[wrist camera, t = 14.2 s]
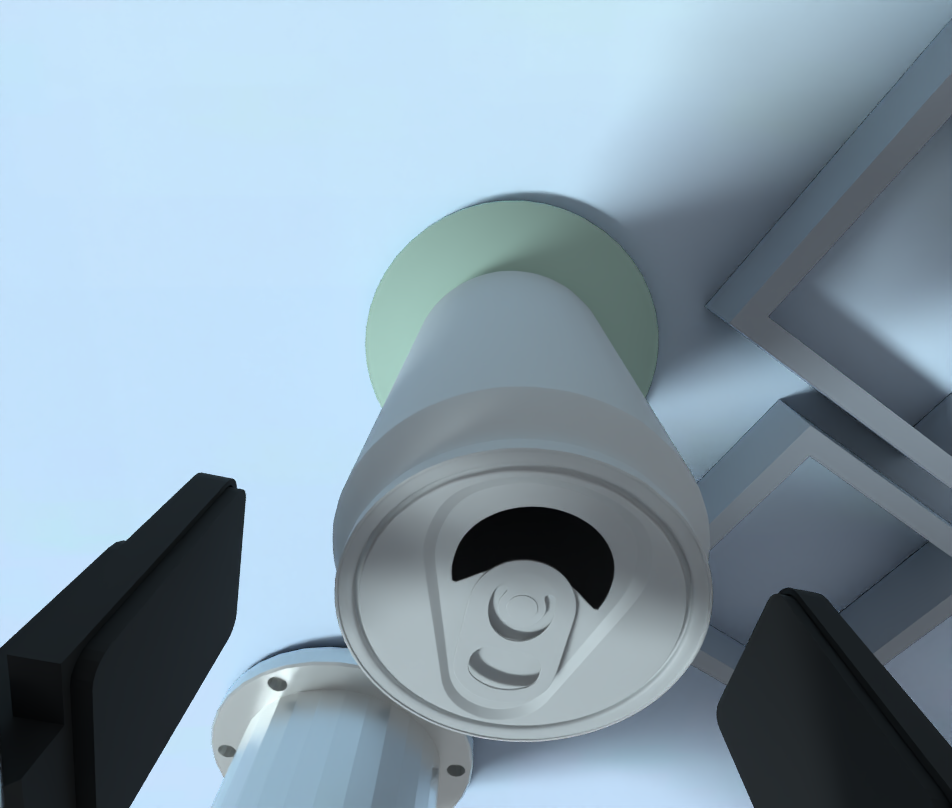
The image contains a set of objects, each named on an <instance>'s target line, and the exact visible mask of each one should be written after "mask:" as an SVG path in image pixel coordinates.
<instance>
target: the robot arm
mask: <svg viewBox="0 0 952 808" xmlns="http://www.w3.org/2000/svg"><path fill="white" fill-rule="evenodd" d="M245 501H246V493H245V491H244V490H242V489H237V485H236V481H235V480H234V479H231V478H226V477H221V476H216V475H211V474H206V473H198V474H196V475H195V476H194V477H193V478H192V479H191V480H190V481H188V482H187V483H186V484H185V485H184V486H183V487H182V488H181V489H180V490H179V491H178V492H177V493H176V494H175V495H174V496H173V497H172V498H171V499H170V500H168V501H167V502H166V503H165V504H164V505H163V506H162V507H161V508H160V509H159V510H158V511H157V512H156V513H155V514H154V515H153V516H152V517H151V518H150V519H149V520H147V521H146V522H145V523H144V524H143V525H142V526H141V527H140V528H139V529H138V530H137V531H136V532H135V533H134V534H133V535H132V536H131V537H130V538H129V539H127V540H126V541H124V540H123V541H119V542H116V543H115V544H113V545H112V546H110V547H109V548H108V549H107V550H106V551H105V552H103V553H102V554H101V555H100V556H99V557H98V558H97V559H96V560H95V561H94V562H93V563H92V564H91V565H89V566H88V567H87V568H86V569H85V570H84V571H83V572H82V573H81V574H80V575H79V576H78V577H76V578H75V579H74V580H73V581H72V582H71V583H70V584H69V585H68V586H67V587H66V588H65V589H63V590H62V591H61V592H60V593H59V594H58V595H57V596H56V597H55V598H54V599H53V600H52V601H51V602H49V603H48V604H47V605H46V606H45V607H44V608H43V609H42V610H41V611H40V612H39V613H38V614H36V615H35V616H34V617H33V618H32V619H31V620H30V621H29V622H28V623H27V624H26V625H25V626H24V627H22V628H21V629H20V630H19V631H18V632H17V633H16V634H15V635H14V636H13V637H12V638H11V639H9V640H8V641H7V642H6V643H5V644H4V645H3V646H2V647H1V648H0V808H129V807H130V806H131V804H132V802H133V801H134V799H135V797H136V795H137V794H138V792H139V790H140V789H141V787H142V785H143V783H144V782H145V780H146V778H147V777H148V775H149V773H150V772H151V770H152V768H153V766H154V765H155V763H156V761H157V760H158V758H159V756H160V755H161V753H162V751H163V749H164V748H165V746H166V744H167V743H168V741H169V739H170V737H171V736H172V734H173V732H174V731H175V729H176V727H177V726H178V724H179V722H180V720H181V719H182V717H183V715H184V714H185V712H186V710H187V709H188V707H189V705H190V703H191V702H192V700H193V698H194V697H195V695H196V693H197V692H198V690H199V688H200V686H201V685H202V683H203V681H204V680H205V678H206V676H207V674H208V673H209V671H210V669H211V668H212V666H213V664H214V663H215V661H216V659H217V657H218V656H219V654H220V652H221V651H222V649H223V647H224V646H225V644H226V642H227V640H228V639H229V637H230V635H231V632H232V630H233V627H234V624H235V620H236V614H237V601H238V589H239V576H240V564H241V551H242V539H243V526H244V514H245ZM717 722H718V725H719V728H720V731H721V733H722V735H723V737H724V740H725V742H726V744H727V747H728V749H729V751H730V754H731V756H732V758H733V760H734V763H735V765H736V767H737V770H738V772H739V774H740V777H741V779H742V781H743V783H744V786H745V788H746V790H747V793H748V795H749V797H750V800H751V802H752V804H753V806H754V808H952V747H951V746H950V745H949V743H948V742H947V741H946V740H945V739H944V738H943V736H942V735H941V734H940V733H939V732H938V730H937V729H936V728H935V727H934V726H933V724H932V723H931V722H930V721H929V720H928V719H927V717H926V716H925V715H924V714H923V713H922V711H921V710H920V709H919V708H918V707H917V705H916V704H915V703H914V702H913V701H912V700H911V698H910V697H909V696H908V695H907V694H906V692H905V691H904V690H903V689H902V688H901V686H900V685H899V684H898V683H897V682H896V681H895V679H894V678H893V677H892V676H891V675H890V673H889V672H888V671H887V670H886V669H885V667H884V666H883V665H882V664H881V663H880V662H879V660H878V659H877V658H876V657H875V656H874V654H873V653H872V652H871V651H870V650H869V648H868V647H867V646H866V645H865V644H864V643H863V641H862V640H861V639H860V638H859V637H858V635H857V634H856V633H855V632H854V631H853V629H852V628H851V627H850V626H849V625H848V624H847V622H846V621H845V620H844V619H843V618H842V616H841V615H840V614H839V613H838V612H837V610H836V609H835V608H834V607H833V606H832V605H831V603H830V602H829V601H828V600H827V599H826V598H825V597H824V596H823V595H821V594H818V593H814V592H809V591H804V590H798V589H793V588H784V589H783V590H781V591H780V592H779V593H778V594H774V595H772V596H771V597H770V598H769V600H768V602H767V604H766V606H765V608H764V610H763V612H762V614H761V616H760V618H759V620H758V622H757V624H756V627H755V629H754V631H753V633H752V635H751V637H750V639H749V641H748V643H747V645H746V647H745V649H744V651H743V653H742V655H741V657H740V659H739V661H738V664H737V666H736V668H735V670H734V672H733V674H732V676H731V678H730V680H729V682H728V684H727V686H726V688H725V690H724V692H723V694H722V696H721V698H720V700H719V703H718V706H717ZM211 746H212V750H213V754H214V758H215V761H216V763H217V765H218V767H219V769H220V771H221V773H222V775H223V777H224V779H223V782H222V784H221V786H220V788H219V791H218V793H217V795H216V797H215V799H214V802H213V804H212V806H211V808H454V807H455V806H456V804H457V803H458V802H459V801H460V800H461V799H462V797H463V796H464V794H465V792H466V790H467V787H468V785H469V783H470V780H471V774H472V769H473V738H472V736H469V735H465V734H461V733H458V732H454V731H451V730H448V729H446V728H443V727H440V726H438V725H435V724H433V723H431V722H428V721H426V720H424V719H422V718H420V717H418V716H417V715H415V714H413V713H411V712H410V711H408V710H406V709H405V708H403V707H402V706H400V705H399V704H397V703H396V702H394V701H393V700H392V699H390V698H389V697H388V696H387V695H386V694H384V693H383V692H382V691H381V690H380V689H379V688H378V687H377V686H376V685H375V684H374V683H373V682H372V681H371V680H370V679H369V678H368V677H367V676H366V675H365V673H364V672H363V671H362V670H361V668H360V667H359V665H358V664H357V663H356V661H355V660H354V658H353V656H352V655H351V653H350V651H349V649H348V648H339V647H320V648H304V649H300V650H295V651H291V652H286V653H282V654H279V655H276V656H274V657H271V658H269V659H267V660H264V661H262V662H259V663H258V664H257V665H255V666H254V667H252V668H251V669H249V670H248V671H246V672H245V673H243V674H242V675H241V676H240V677H239V678H238V679H237V680H236V682H235V683H234V684H233V685H232V686H231V687H230V688H229V690H228V692H227V694H226V696H225V698H224V699H223V701H222V703H221V705H220V707H219V708H218V710H217V713H216V716H215V719H214V722H213V724H212V732H211Z"/></svg>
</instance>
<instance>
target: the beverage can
mask: <svg viewBox="0 0 952 808" xmlns="http://www.w3.org/2000/svg"><path fill="white" fill-rule="evenodd" d="M709 550H710V532H709V521H708V515H707V511H706V507H705V504H704V501H703V498H702V495H701V492H700V489H699V487H698V485H697V483H696V481H695V479H694V477H693V476H692V474H691V472H690V470H689V469H688V467H687V465H686V464H685V462H684V460H683V459H682V457H681V456H680V454H679V452H678V451H677V449H676V447H675V446H674V444H673V443H672V441H671V439H670V438H669V436H668V434H667V433H666V431H665V430H664V428H663V426H662V425H661V423H660V422H659V420H658V418H657V417H656V415H655V413H654V412H653V410H652V409H651V407H650V405H649V404H648V402H647V400H646V399H645V397H644V396H643V394H642V392H641V391H640V389H639V387H638V386H637V384H636V383H635V381H634V379H633V378H632V376H631V374H630V373H629V371H628V370H627V368H626V366H625V365H624V363H623V362H622V360H621V358H620V357H619V355H618V353H617V352H616V350H615V349H614V347H613V345H612V344H611V342H610V340H609V339H608V337H607V336H606V334H605V332H604V331H603V329H602V327H601V326H600V324H599V323H598V321H597V319H596V318H595V316H594V314H593V313H592V311H591V310H590V309H589V308H588V306H587V305H586V304H585V303H584V302H583V301H582V300H581V299H580V298H579V297H578V296H576V295H575V294H574V293H573V292H572V291H571V290H570V289H568V288H567V287H565V286H564V285H562V284H560V283H558V282H556V281H554V280H552V279H550V278H547V277H545V276H541V275H538V274H534V273H529V272H522V271H499V272H493V273H488V274H484V275H481V276H478V277H475V278H473V279H470V280H468V281H466V282H464V283H462V284H460V285H459V286H457V287H456V288H454V289H453V290H451V291H450V292H449V293H447V294H446V295H445V296H444V297H443V298H442V299H441V300H440V301H439V302H438V303H437V304H436V305H435V306H434V307H433V309H432V310H431V311H430V313H429V314H428V316H427V317H426V319H425V321H424V323H423V325H422V327H421V329H420V331H419V333H418V335H417V337H416V339H415V341H414V343H413V345H412V347H411V350H410V352H409V354H408V356H407V358H406V360H405V362H404V364H403V366H402V368H401V370H400V372H399V374H398V376H397V378H396V381H395V383H394V385H393V387H392V389H391V391H390V393H389V395H388V397H387V399H386V401H385V403H384V405H383V407H382V409H381V412H380V414H379V416H378V418H377V420H376V422H375V424H374V426H373V428H372V430H371V432H370V434H369V436H368V438H367V441H366V443H365V445H364V447H363V449H362V451H361V453H360V455H359V457H358V459H357V461H356V463H355V465H354V467H353V469H352V472H351V474H350V476H349V478H348V480H347V482H346V484H345V486H344V488H343V490H342V493H341V495H340V498H339V501H338V505H337V509H336V513H335V517H334V523H333V554H334V561H335V566H336V571H337V572H336V578H335V607H336V614H337V619H338V623H339V627H340V630H341V633H342V636H343V638H344V641H345V643H346V645H347V647H348V649H349V651H350V653H351V655H352V656H353V658H354V660H355V661H356V663H357V664H358V665H359V667H360V668H361V670H362V671H363V672H364V673H365V675H366V676H367V677H368V678H369V679H370V680H371V681H372V682H373V683H374V684H375V685H376V686H377V687H378V688H379V689H380V690H381V691H382V692H383V693H384V694H386V695H387V696H388V697H389V698H390V699H392V700H393V701H394V702H396V703H397V704H399V705H400V706H402V707H403V708H405V709H406V710H408V711H410V712H411V713H413V714H415V715H417V716H418V717H420V718H422V719H424V720H426V721H428V722H431V723H433V724H435V725H438V726H440V727H443V728H446V729H448V730H451V731H454V732H458V733H461V734H465V735H469V736H473V737H478V738H483V739H490V740H499V741H508V742H540V741H550V740H558V739H565V738H570V737H575V736H579V735H583V734H587V733H591V732H594V731H597V730H600V729H603V728H606V727H609V726H611V725H613V724H616V723H618V722H620V721H623V720H624V719H626V718H628V717H630V716H632V715H634V714H636V713H638V712H639V711H641V710H643V709H644V708H646V707H647V706H649V705H650V704H651V703H653V702H654V701H656V700H657V699H658V698H659V697H661V696H662V695H663V694H664V693H665V692H667V691H668V690H669V689H670V688H671V687H672V686H673V685H674V684H675V683H676V682H677V681H678V680H679V678H680V677H681V676H682V675H683V674H684V673H685V671H686V670H687V669H688V667H689V666H690V664H691V663H692V662H693V660H694V658H695V657H696V655H697V653H698V652H699V650H700V648H701V646H702V644H703V641H704V639H705V636H706V633H707V631H708V627H709V624H710V618H711V612H712V604H713V588H712V577H711V571H710V567H709V564H708V559H709Z"/></svg>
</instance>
